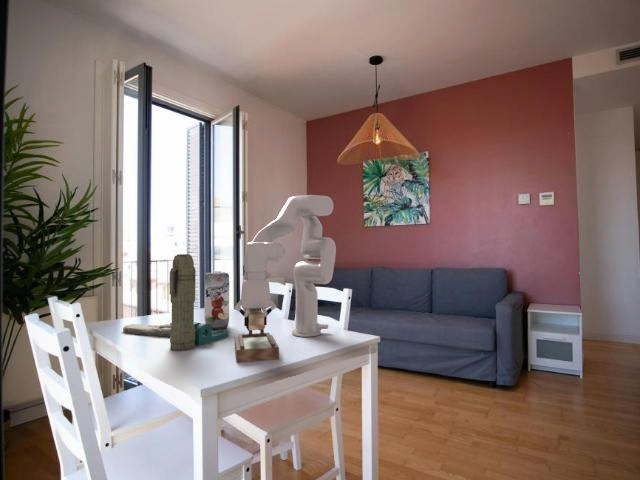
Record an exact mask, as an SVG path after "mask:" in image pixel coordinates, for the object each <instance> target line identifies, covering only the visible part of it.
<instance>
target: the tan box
mask: <svg viewBox="0 0 640 480" xmlns="http://www.w3.org/2000/svg"><path fill="white" fill-rule="evenodd" d="M248 317H249V328H248V329H247V331H248V334H249V335H252V333H253V331H260V332H259V333H260V334H261V335H263V334H264V333H265V328H264V314H263V311H262V309H249V313H248Z"/></svg>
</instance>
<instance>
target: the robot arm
mask: <svg viewBox="0 0 640 480" xmlns="http://www.w3.org/2000/svg"><path fill="white" fill-rule="evenodd" d="M333 211H334V202H333V199H332V198H331V197H329V196H327V195H316V194H304V195H302V194H301V195H293V196H291V197H289V198H288V199H287V201H286V203H285V204H284V206H283V207H282V209H281V211H280V212H279V214H278V216H277V218H276V219H275V220H273V221H271V222H270V223H268V224H267V225H266V226H264V227H263V228H261V229H260V230H259V231H258V232H257V233H256V235H255V236H254V237H253V239H252V241H251V242H250V241H249V242H247V243H246V245H245V267H244V269H245V270H244V271H245V272H244V273H245V279H244V280H242V284H241V296H240V299H239V301H238V302H237V303H236V305H234V309H235V310H236V311H237V312H239V313H240V314H241V316H243V317H244V319H243V320H244V323H243V324H244V325H243V326H244V327H246V330H248V328H249V317H248V313H249V309H261V311H262V312H263V314H264V329H265V328H266V326H267V321H268V320H267V318H268V316H269V315H270V314H271V312H272V311H273V310H275V309H276V308H277V305H276V304H275V303H274V301H273V300H272V299H271V290H270V281H269V279H268V278H271V276H272V275H271V273H269V272H267V271H268V270H267V269H268V268H267V266H268V265H267V263H277V262H281V261H282V260H284V258H285V255H286V248H285V246H284V245H283V244H282V243H280V242H277V241H275V240H277V239H280V238H283V237H286V236H289V235H290V234H293V232H294V231H295V230H296V228H297V226H298V224H299V222H300V220H301V221H302V224H303V232H302V237H301V245H300V255H301V256H302V257H303V258H305V259H310V260H303V261H299V262H297V263H296V264H295V265H294V267H293V278H294V284H295V329H293V330H291V335H293V336H296V337H302V338H311V337H312V338H313V337H317V336H320V335H321V333H322V330H328V329H329V324H327V323H326V324H325V323H319V322H318V296H319V295H318V290H317V287H316V286H315V284H317V285H327V284H329V283H330V282H331V281H332V280H333V276H334V275H333V274H334V268H335V263H336V253H337V247H336V246H337V245H336V242H335V241H334V240H333V238H331V237H325V236H323V224H322V223H321V222H320V220H319V219H318V217H327V216H330V215H331V214H332V212H333ZM312 259H313V260H312ZM315 260H320V261H315ZM243 309H244V310H243Z"/></svg>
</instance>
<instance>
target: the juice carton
mask: <svg viewBox="0 0 640 480" xmlns="http://www.w3.org/2000/svg"><path fill="white" fill-rule="evenodd" d="M229 321H230V274H229V273H228V272H222V270H220V269H217V270H214V272H206V273H205V277H204V324H209V325H210V326H211V328H212V331H217V330H226V329H228V327H229V323H230V322H229Z"/></svg>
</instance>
